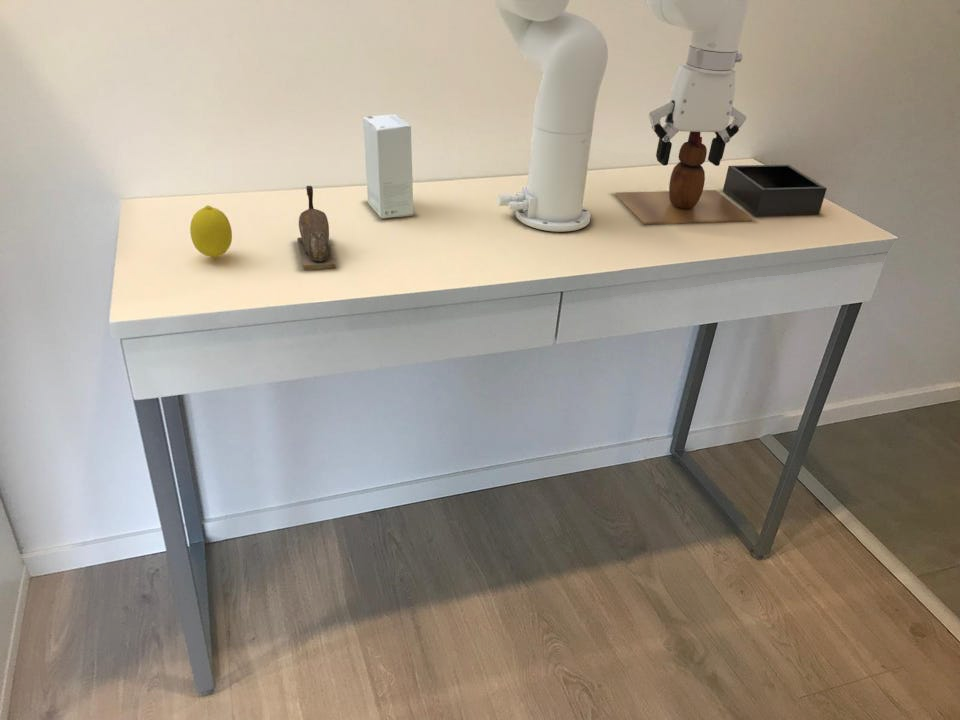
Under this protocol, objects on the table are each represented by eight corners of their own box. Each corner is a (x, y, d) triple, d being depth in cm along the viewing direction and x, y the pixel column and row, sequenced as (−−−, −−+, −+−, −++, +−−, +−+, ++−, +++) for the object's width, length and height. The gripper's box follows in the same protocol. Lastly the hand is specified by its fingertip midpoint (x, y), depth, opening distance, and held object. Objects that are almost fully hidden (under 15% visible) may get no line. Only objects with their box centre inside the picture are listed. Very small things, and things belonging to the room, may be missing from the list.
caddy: (755, 216, 140) (762, 189, 137) (722, 191, 150) (728, 165, 148) (818, 214, 143) (827, 188, 140) (782, 189, 153) (789, 164, 150)
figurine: (294, 231, 124) (290, 177, 119) (324, 229, 125) (321, 176, 120) (303, 270, 113) (299, 212, 108) (335, 268, 114) (333, 211, 109)
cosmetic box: (414, 216, 132) (414, 126, 124) (378, 220, 129) (377, 129, 122) (398, 198, 138) (398, 112, 130) (364, 201, 136) (362, 114, 128)
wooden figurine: (664, 196, 145) (680, 113, 137) (696, 200, 144) (714, 117, 136) (667, 210, 139) (683, 124, 131) (700, 213, 139) (719, 128, 131)
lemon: (197, 269, 111) (189, 215, 107) (192, 253, 115) (184, 200, 111) (237, 264, 113) (231, 211, 109) (231, 248, 117) (225, 197, 113)
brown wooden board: (644, 224, 134) (644, 222, 134) (615, 194, 146) (615, 192, 145) (751, 221, 138) (752, 218, 138) (715, 192, 150) (715, 190, 150)
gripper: (747, 56, 133) (723, 156, 142) (651, 52, 130) (633, 155, 139) (770, 66, 127) (743, 170, 136) (670, 63, 123) (649, 170, 133)
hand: (687, 163), depth 137 cm, fingers open, 9 cm apart
